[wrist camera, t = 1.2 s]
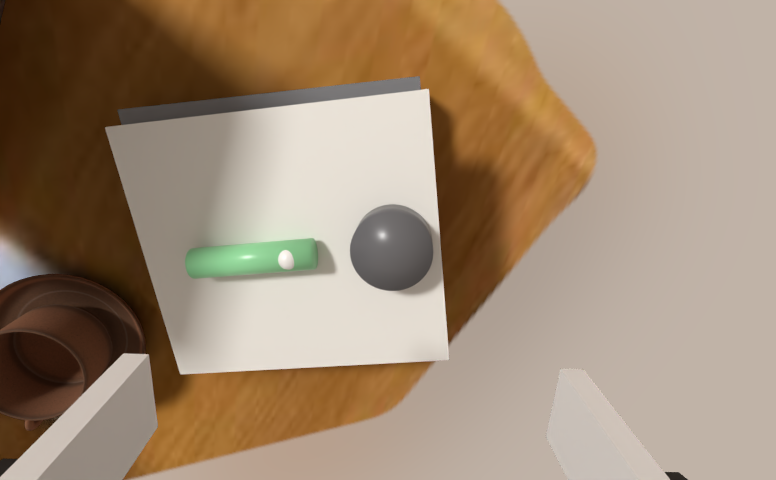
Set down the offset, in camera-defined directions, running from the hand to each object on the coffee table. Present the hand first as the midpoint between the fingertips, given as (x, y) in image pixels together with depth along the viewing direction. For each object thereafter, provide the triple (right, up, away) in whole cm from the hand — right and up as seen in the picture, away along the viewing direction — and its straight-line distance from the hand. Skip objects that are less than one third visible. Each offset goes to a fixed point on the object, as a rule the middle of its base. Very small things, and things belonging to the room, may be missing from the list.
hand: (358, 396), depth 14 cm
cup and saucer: (-25, -3, +22) cm, 34 cm away
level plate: (-5, +5, +16) cm, 17 cm away
